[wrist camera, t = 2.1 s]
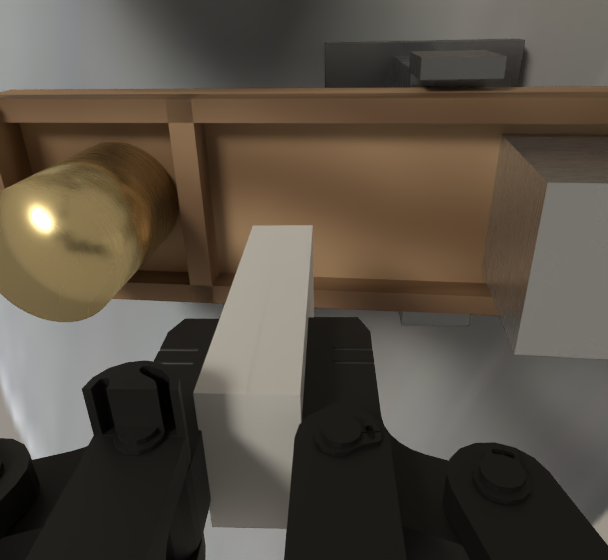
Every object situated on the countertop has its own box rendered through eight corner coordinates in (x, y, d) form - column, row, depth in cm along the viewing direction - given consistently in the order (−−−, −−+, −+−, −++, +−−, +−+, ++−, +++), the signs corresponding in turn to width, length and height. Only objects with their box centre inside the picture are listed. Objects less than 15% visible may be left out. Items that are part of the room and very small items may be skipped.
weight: (56, 140, 18) (-48, 185, 14) (170, 141, 17) (100, 187, 13) (82, 248, 20) (-3, 318, 15) (185, 252, 19) (128, 325, 15)
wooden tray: (11, 89, 19) (-45, 102, 16) (994, 84, 15) (1114, 99, 13) (58, 269, 22) (17, 302, 19) (876, 299, 18) (955, 346, 16)
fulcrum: (324, 42, 22) (323, 59, 15) (518, 38, 22) (608, 53, 15) (325, 240, 26) (324, 325, 19) (488, 239, 26) (547, 325, 19)
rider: (501, 134, 16) (547, 182, 12) (678, 134, 15) (798, 186, 11) (481, 270, 18) (514, 354, 14) (636, 275, 18) (723, 365, 13)
